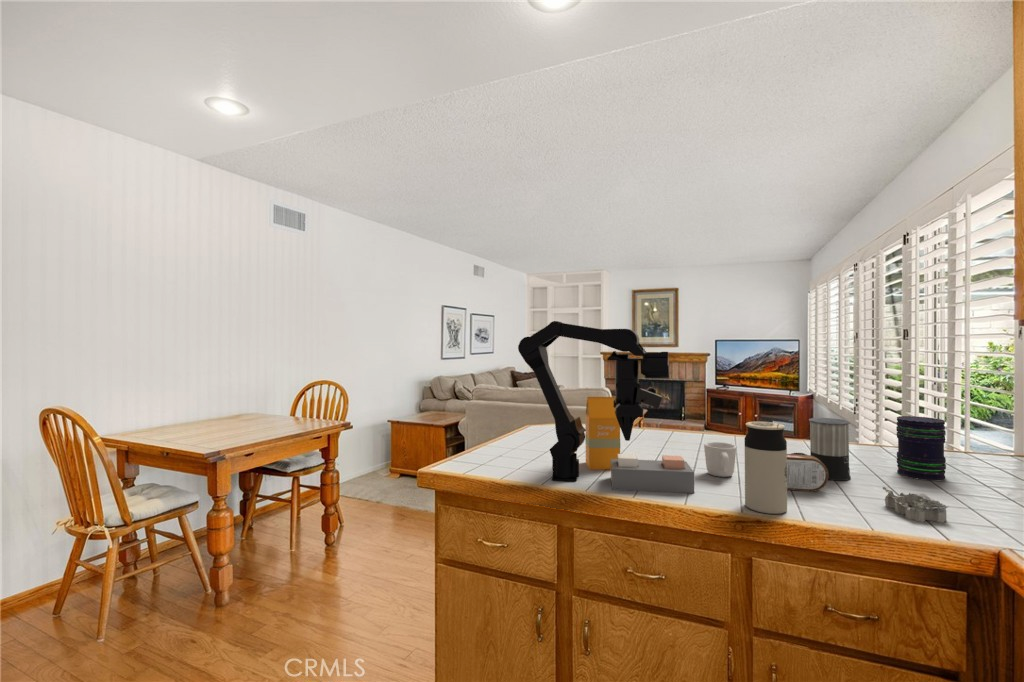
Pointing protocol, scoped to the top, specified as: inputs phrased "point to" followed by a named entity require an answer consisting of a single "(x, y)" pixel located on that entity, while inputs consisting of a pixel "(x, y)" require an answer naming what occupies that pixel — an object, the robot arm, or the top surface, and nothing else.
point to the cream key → (627, 460)
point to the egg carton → (916, 506)
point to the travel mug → (766, 468)
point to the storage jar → (921, 447)
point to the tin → (805, 473)
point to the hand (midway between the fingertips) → (627, 440)
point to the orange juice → (601, 432)
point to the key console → (652, 477)
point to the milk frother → (831, 446)
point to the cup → (720, 458)
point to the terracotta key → (672, 462)
